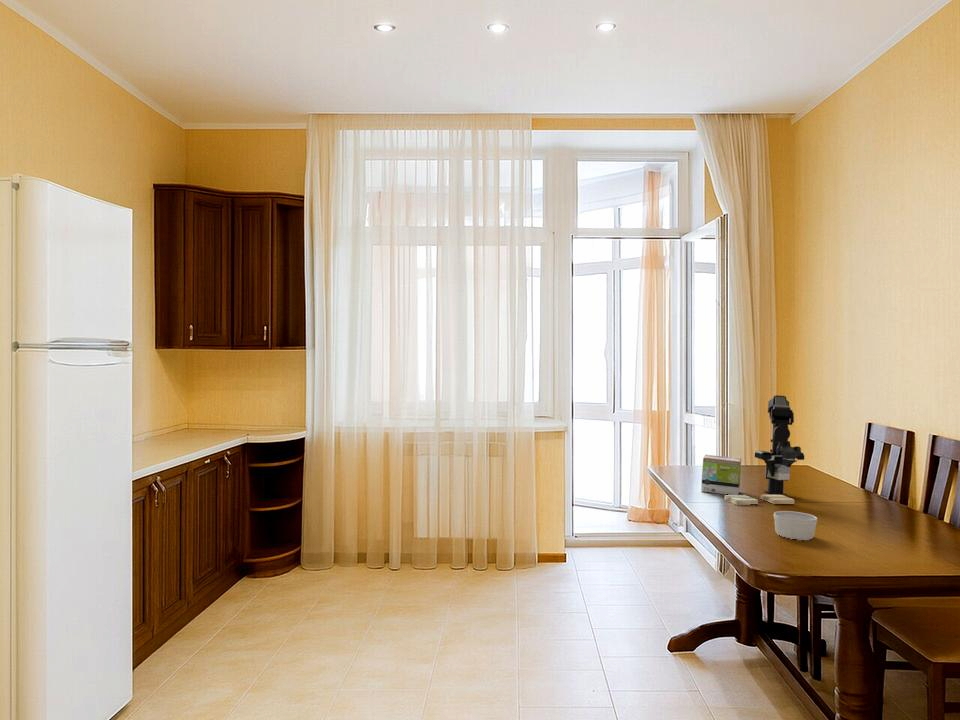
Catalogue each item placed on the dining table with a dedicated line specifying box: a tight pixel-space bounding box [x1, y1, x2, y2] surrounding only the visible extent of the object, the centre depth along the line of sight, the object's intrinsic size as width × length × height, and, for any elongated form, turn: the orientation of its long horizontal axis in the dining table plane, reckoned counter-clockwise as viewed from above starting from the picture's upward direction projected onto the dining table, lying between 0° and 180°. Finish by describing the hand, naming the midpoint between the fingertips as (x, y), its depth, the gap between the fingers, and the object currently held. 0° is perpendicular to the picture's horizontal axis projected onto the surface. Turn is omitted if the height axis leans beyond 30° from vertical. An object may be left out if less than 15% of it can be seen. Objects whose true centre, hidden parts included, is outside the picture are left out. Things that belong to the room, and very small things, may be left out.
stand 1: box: [724, 494, 759, 506], centre depth 284 cm, size 9×9×2 cm
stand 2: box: [760, 494, 795, 505], centre depth 287 cm, size 9×9×2 cm
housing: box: [767, 464, 791, 481], centre depth 287 cm, size 7×5×5 cm
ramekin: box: [773, 510, 818, 541], centre depth 236 cm, size 13×13×7 cm
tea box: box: [700, 454, 742, 495], centre depth 303 cm, size 15×10×15 cm
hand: (778, 476), depth 287 cm, fingers closed on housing, 5 cm apart
